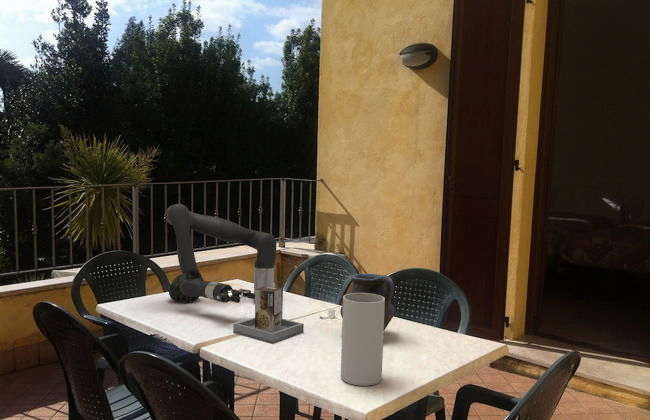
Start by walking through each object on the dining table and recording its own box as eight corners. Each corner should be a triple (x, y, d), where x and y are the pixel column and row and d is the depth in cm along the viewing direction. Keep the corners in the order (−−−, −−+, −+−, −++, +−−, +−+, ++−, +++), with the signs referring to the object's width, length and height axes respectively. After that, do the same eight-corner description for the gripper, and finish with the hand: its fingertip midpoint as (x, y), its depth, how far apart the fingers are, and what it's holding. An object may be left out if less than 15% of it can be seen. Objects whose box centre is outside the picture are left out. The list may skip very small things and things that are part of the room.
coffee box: (282, 329, 206) (283, 288, 205) (273, 334, 200) (274, 291, 199) (263, 326, 210) (263, 285, 209) (253, 330, 205) (254, 288, 203)
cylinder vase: (334, 382, 158) (337, 299, 157) (348, 368, 170) (350, 291, 168) (375, 389, 154) (378, 304, 152) (386, 374, 166) (389, 295, 164)
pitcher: (364, 325, 219) (366, 265, 217) (407, 338, 203) (410, 273, 201) (329, 335, 204) (331, 270, 202) (372, 350, 189) (374, 280, 187)
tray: (265, 322, 218) (265, 314, 218) (303, 332, 207) (303, 323, 206) (233, 332, 204) (233, 323, 204) (272, 343, 192) (272, 334, 192)
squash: (173, 285, 259) (170, 265, 248) (204, 286, 261) (203, 267, 250) (168, 309, 249) (165, 290, 238) (200, 311, 251) (199, 292, 240)
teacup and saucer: (317, 319, 227) (317, 310, 227) (324, 315, 234) (324, 306, 234) (336, 322, 224) (337, 312, 223) (343, 317, 231) (343, 308, 231)
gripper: (205, 285, 215) (234, 291, 205) (231, 280, 226) (259, 286, 217) (205, 304, 215) (234, 311, 206) (231, 297, 227) (259, 304, 217)
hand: (247, 298), depth 211 cm, fingers open, 8 cm apart
